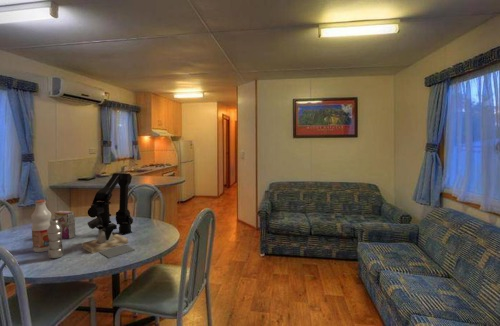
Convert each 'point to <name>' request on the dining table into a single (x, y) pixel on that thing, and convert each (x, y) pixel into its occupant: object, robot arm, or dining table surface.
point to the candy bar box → (66, 223)
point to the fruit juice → (40, 226)
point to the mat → (117, 251)
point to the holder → (104, 244)
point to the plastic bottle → (55, 239)
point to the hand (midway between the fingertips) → (105, 239)
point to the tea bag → (103, 237)
